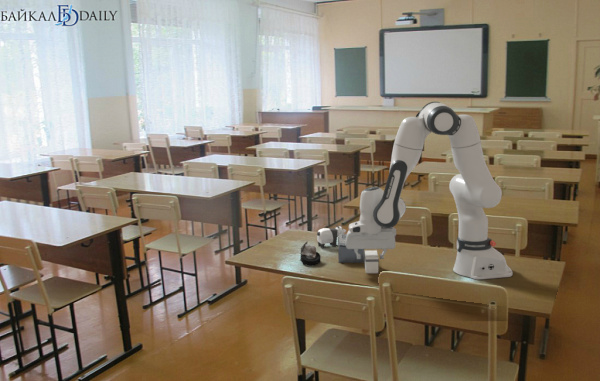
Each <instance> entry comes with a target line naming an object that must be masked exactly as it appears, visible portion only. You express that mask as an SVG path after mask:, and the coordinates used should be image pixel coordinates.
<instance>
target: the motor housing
mask: <svg viewBox="0 0 600 381" xmlns="http://www.w3.org/2000/svg"><path fill="white" fill-rule="evenodd" d="M346 236H347V233H344V234H340V235H339V237H337V243H338V244H337V245H338V246H337V253H338V255H337V256H338V263H339V264H342V263H344V264H345V263H346V264H348V263H350V264H351V263H353V264H355V263H361V264H362V263H363V264H365V254H364V253H365V249H358V251H357V252H358V254H360V255H361V259H357V255H356V253H355V251H354V249H347V248H346Z"/></svg>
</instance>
